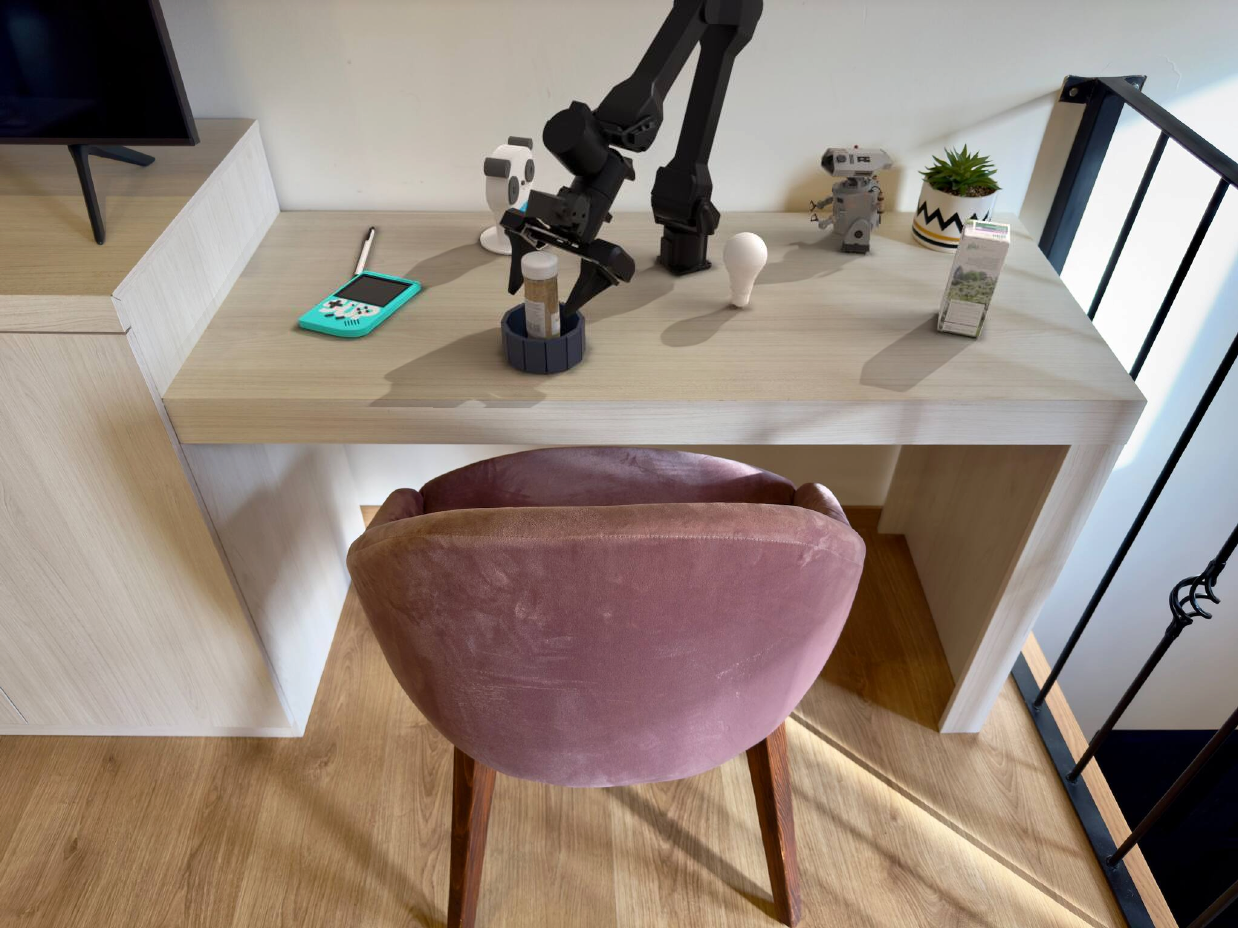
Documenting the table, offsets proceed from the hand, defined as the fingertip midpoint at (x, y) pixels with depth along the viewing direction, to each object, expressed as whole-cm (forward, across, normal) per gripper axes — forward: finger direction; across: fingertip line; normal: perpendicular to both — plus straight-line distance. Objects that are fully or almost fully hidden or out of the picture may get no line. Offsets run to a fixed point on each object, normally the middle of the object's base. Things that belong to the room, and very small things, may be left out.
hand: (536, 305), depth 108 cm
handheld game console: (+10, -28, +1) cm, 30 cm away
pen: (+2, -41, +8) cm, 42 cm away
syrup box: (-25, +40, +35) cm, 59 cm away
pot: (+4, 0, +6) cm, 7 cm away
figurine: (-35, +15, +45) cm, 59 cm away
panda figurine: (-11, -26, +22) cm, 36 cm away
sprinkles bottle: (+5, 0, +6) cm, 8 cm away
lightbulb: (-14, +14, +25) cm, 32 cm away
